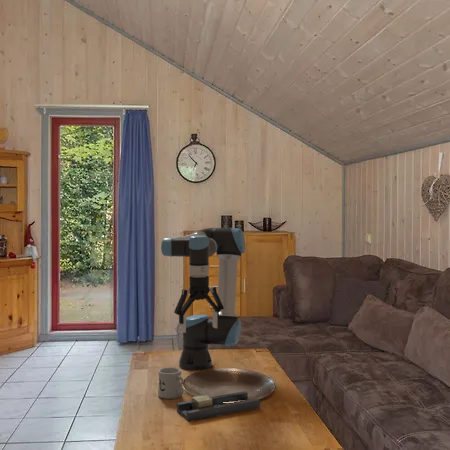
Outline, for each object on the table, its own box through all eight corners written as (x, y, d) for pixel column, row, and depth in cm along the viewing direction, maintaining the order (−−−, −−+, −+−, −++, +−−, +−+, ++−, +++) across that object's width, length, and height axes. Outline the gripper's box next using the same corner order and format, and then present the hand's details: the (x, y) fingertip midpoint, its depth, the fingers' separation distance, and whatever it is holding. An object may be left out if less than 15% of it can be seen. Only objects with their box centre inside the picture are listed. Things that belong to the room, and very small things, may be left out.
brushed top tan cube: (191, 411, 205) (191, 396, 204) (205, 409, 207) (205, 394, 207) (198, 417, 200) (198, 401, 200) (212, 414, 202) (212, 399, 202)
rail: (176, 411, 205) (176, 403, 205) (245, 398, 218) (245, 391, 218) (189, 421, 195) (189, 413, 195) (259, 408, 208) (259, 399, 208)
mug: (153, 395, 221) (153, 370, 221) (170, 390, 228) (170, 365, 227) (174, 403, 213) (174, 377, 212) (191, 397, 219) (191, 372, 219)
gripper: (173, 279, 210) (173, 336, 211) (232, 274, 221) (232, 327, 223) (165, 276, 216) (166, 331, 218) (222, 271, 228) (223, 323, 230)
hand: (199, 329), depth 220 cm, fingers open, 13 cm apart
